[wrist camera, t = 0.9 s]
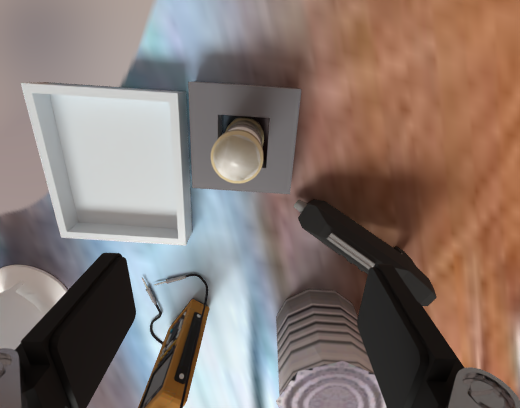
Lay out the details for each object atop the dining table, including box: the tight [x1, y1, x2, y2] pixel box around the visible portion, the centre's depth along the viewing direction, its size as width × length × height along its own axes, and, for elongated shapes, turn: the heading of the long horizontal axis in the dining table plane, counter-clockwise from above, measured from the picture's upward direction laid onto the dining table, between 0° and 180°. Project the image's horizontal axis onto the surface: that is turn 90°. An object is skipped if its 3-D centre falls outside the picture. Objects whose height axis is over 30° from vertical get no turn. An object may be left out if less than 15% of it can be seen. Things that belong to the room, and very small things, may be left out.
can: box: [276, 289, 387, 408], centre depth 35 cm, size 11×11×12 cm
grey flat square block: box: [188, 81, 301, 194], centre depth 28 cm, size 10×10×3 cm
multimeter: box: [138, 274, 209, 408], centre depth 30 cm, size 15×10×20 cm
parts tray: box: [21, 82, 192, 245], centre depth 30 cm, size 16×14×3 cm
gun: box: [294, 200, 436, 306], centre depth 32 cm, size 3×16×10 cm, turn 62°
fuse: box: [211, 117, 264, 183], centre depth 26 cm, size 4×4×9 cm
